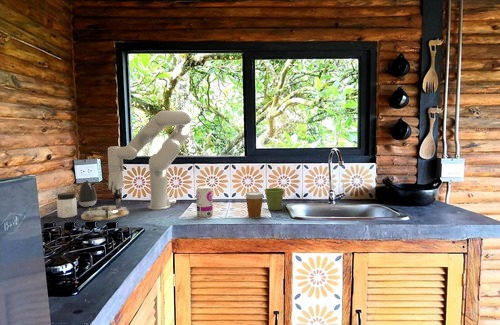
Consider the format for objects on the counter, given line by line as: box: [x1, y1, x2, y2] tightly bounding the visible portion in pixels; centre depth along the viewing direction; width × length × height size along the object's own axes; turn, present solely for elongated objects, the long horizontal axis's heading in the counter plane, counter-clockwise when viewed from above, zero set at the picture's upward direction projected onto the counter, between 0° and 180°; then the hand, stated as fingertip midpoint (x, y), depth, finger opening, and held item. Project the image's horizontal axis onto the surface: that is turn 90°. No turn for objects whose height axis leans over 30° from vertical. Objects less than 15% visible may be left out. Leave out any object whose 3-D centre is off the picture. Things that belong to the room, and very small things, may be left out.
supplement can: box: [195, 185, 214, 218], centre depth 167 cm, size 8×8×15 cm
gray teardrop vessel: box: [77, 180, 98, 208], centre depth 193 cm, size 10×10×15 cm
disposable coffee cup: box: [244, 191, 265, 218], centre depth 165 cm, size 10×10×12 cm
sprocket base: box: [80, 208, 130, 222], centre depth 171 cm, size 23×23×5 cm
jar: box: [56, 191, 78, 219], centre depth 169 cm, size 9×8×12 cm
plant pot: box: [263, 187, 286, 211], centre depth 180 cm, size 12×12×11 cm
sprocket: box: [83, 198, 127, 217], centre depth 170 cm, size 21×21×6 cm
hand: (117, 201), depth 179 cm, fingers closed
